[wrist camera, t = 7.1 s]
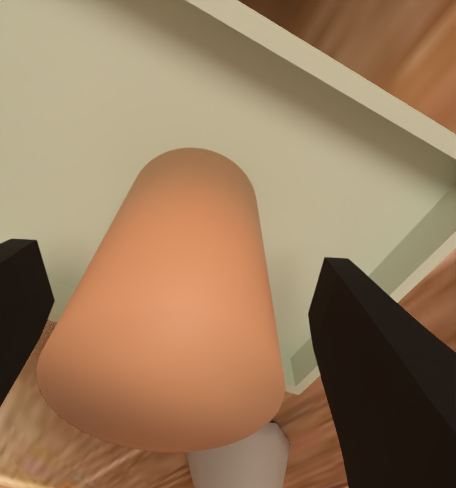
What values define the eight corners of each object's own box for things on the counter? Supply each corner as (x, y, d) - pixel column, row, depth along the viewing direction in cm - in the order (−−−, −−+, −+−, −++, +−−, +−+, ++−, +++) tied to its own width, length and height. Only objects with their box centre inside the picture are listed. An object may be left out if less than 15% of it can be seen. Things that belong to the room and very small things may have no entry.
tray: (475, 149, 12) (528, 179, 10) (290, 350, 18) (298, 395, 16) (-23, -155, 8) (-115, -217, 6) (-44, 238, 14) (-92, 278, 12)
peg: (262, 150, 11) (303, 311, 5) (251, 260, 13) (270, 454, 7) (123, 144, 11) (-2, 303, 5) (138, 257, 13) (68, 451, 7)
